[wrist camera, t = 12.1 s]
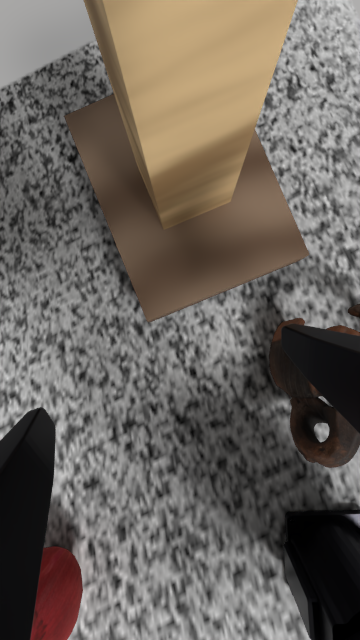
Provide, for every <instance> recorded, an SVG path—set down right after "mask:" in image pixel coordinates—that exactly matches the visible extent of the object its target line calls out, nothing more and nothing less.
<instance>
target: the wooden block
mask: <svg viewBox="0 0 360 640" xmlns="http://www.w3.org/2000/svg"><path fill="white" fill-rule="evenodd" d="M297 1H298V0H84V2H85V6H86V9H87V12H88V15H89V18H90V21H91V24H92V27H93V30H94V34H95V37H96V40H97V43H98V46H99V49H100V52H101V55H102V58H103V61H104V64H105V67H106V70H107V74H108V77H109V80H110V83H111V86H112V89H113V92H114V95H115V98H116V101H117V104H118V107H119V111H120V114H121V117H122V120H123V123H124V126H125V129H126V132H127V135H128V138H129V141H130V144H131V147H132V151H133V154H134V157H135V160H136V163H137V166H138V168H139V171H140V173H141V176H142V178H143V180H144V183H145V185H146V188H147V190H148V193H149V195H150V197H151V200H152V202H153V205H154V207H155V210H156V212H157V214H158V217H159V219H160V222H161V224H162V227H163V229H164V230H165V229H167V228H170V227H172V226H174V225H177V224H179V223H181V222H184V221H186V220H189V219H191V218H193V217H196V216H198V215H200V214H203V213H205V212H208V211H210V210H212V209H215V208H217V207H219V206H222V205H224V204H227V203H229V202H231V199H232V196H233V193H234V190H235V187H236V184H237V181H238V178H239V175H240V172H241V169H242V166H243V163H244V160H245V157H246V154H247V151H248V148H249V145H250V142H251V139H252V136H253V133H254V130H255V127H256V124H257V121H258V118H259V115H260V112H261V109H262V106H263V103H264V100H265V97H266V94H267V91H268V88H269V85H270V82H271V79H272V76H273V73H274V70H275V67H276V64H277V61H278V58H279V55H280V52H281V49H282V46H283V43H284V40H285V37H286V34H287V31H288V28H289V25H290V22H291V19H292V16H293V13H294V10H295V7H296V4H297Z"/></svg>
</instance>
